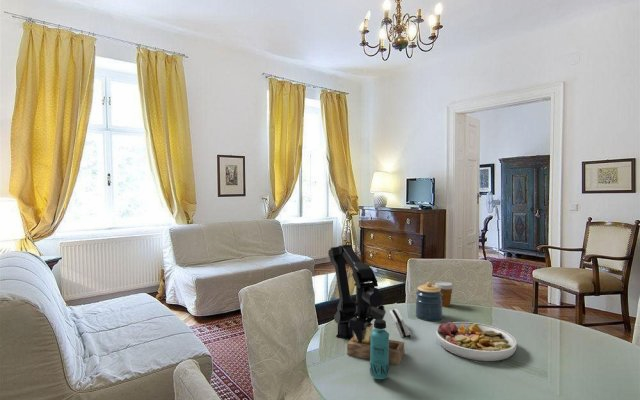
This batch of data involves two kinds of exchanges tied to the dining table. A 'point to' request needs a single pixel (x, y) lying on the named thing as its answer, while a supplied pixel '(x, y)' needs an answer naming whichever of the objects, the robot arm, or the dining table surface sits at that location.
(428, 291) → the canister
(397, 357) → the recessed tan tray
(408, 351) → the dining table surface
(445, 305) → the disposable coffee cup
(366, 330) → the tan block
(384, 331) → the beverage bottle
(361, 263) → the robot arm
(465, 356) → the charcuterie platter
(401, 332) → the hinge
